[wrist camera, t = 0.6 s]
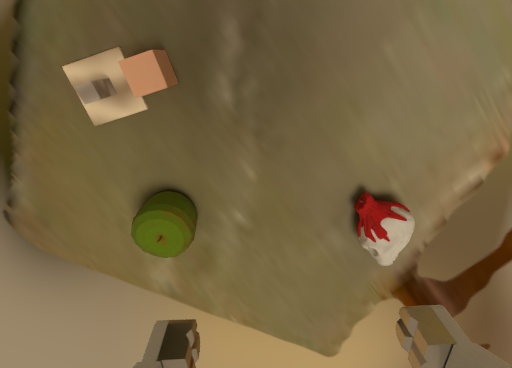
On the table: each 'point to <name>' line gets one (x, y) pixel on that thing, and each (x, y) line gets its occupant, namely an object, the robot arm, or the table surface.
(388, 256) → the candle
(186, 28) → the table surface
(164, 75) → the salmon orange block
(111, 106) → the post stand
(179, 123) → the table surface
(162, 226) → the apple
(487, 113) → the table surface
